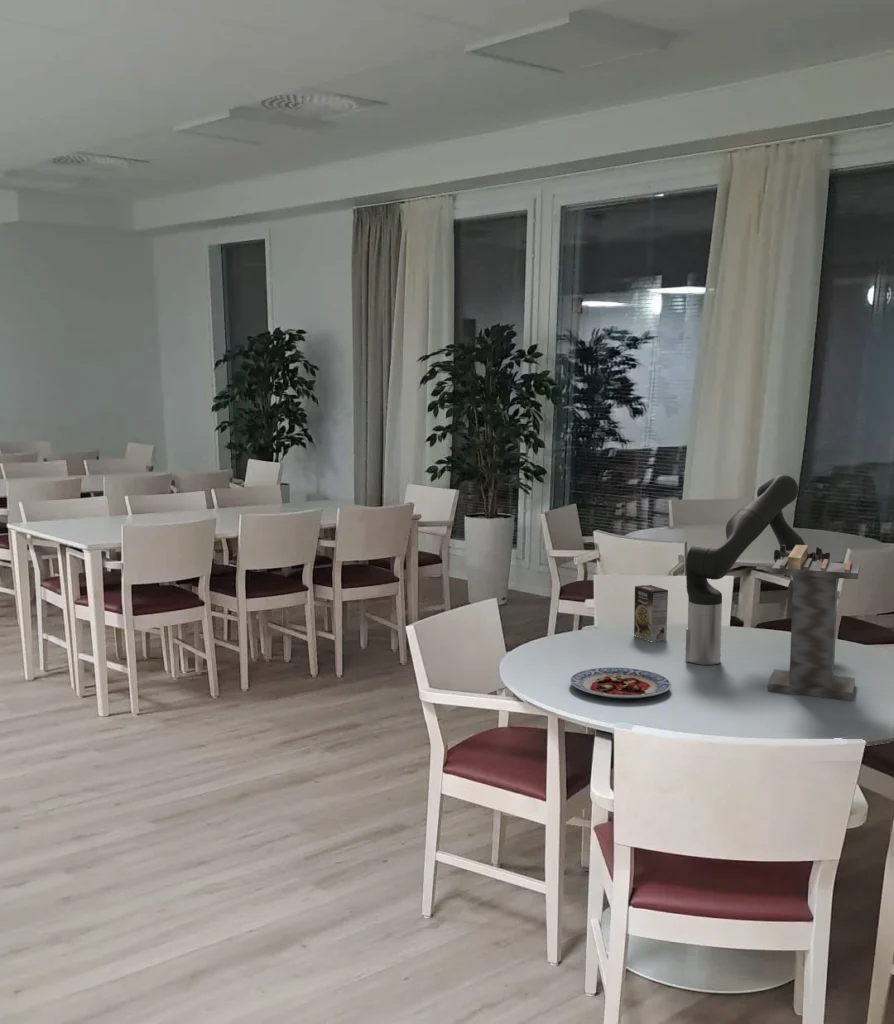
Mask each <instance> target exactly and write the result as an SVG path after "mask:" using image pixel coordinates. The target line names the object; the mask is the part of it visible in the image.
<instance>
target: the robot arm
mask: <svg viewBox="0 0 894 1024" xmlns="http://www.w3.org/2000/svg"><path fill="white" fill-rule="evenodd" d="M798 494H799V485H798V482H797V481H796V479H794V478H793V477H792V476H790V475H788V474H779V475H777V476H774V477H772V478H771V479H769V480H768V481H766V482H765V483H763V484H761V486H759V487H758V489H757V491H756V498H754V499H753V500H751V501H750V502H748V503H747V504H745V505H744V506H743V507H741V508H740V509H739V510H737V512H735V514H734V515H733V516H732V517H730V518H729V520H728V521H727V522H726V525H725V537H726V541H724V543H722V544H721V545H719V546H712V545H706V544H705V545H703V544H695V545H692V546H690V548H689V550H688V552H687V555H686V559H685V561H686V562H685V573H686V574H685V576H686V581H685V582H686V592H687V597H688V606H687V612H688V613H687V627H686V628H685V658H684V659H685V662H689V663H692V664H696V665H703V666H705V665H707V666H710V665H711V666H712V665H717V664H719V663H721V657H722V656H721V652H722V651H721V650H722V649H721V648H722V646H721V645H722V616H723V615H722V614H723V594H722V592H721V591H720V590H719V589H717V588H715V587H714V586H713V585H711V584H710V582H709V581H708V580H716V581H717V580H720V579H723V577H725V576H726V575H727V574H728V573H729V571H730V570H731V569H732V567H733V566H734V564H735V563H736V562H737V560H738V559H739V558H740V556H741V555H742V554H743V553H744V552H745V551H746V549H747V548H748V547H749V546H750V545H751V544H752V543H753V542H754V541H755V540H756V539H757V538H758V537H759V536H760V535H761V534H762V532H763V531H765V529H766V528H767V527H768V526H770V528H771V529H772V531H773V533H774V535H775V538H776V539H777V542H778V545H779V549H774V552H773V560H774V564H775V563H776V561H777V560H778V559H781V560H784V559H785V557H788V556H789V555H790V553H791V552H792V550H793V549H794V547H795V546H796V545H806V543H805V541H804V540H803V538H802V536H800V534H798V532H796V531H795V530H794V529H793V528H792V527H791V526H790V525H789V524H788V523H787V521H786V519H785V517H784V513H783V509H785V508H786V507H787V506H788V505H790V504H792V503H793V502H794V501H795V500H796V499H797V497H798ZM808 558H812V561H814V562H823V561H824V559H829V562H830V560H831V553H830V552H824V553H823V549H822V548H820V546H816V549H815V551H812V552H811V553H808V555H807V558H806V560H805V561H807V559H808ZM789 576H790V581H789V583H788V586H787V593H788V597H789V599H790V600H791V601H792V596H793V575H789Z"/></svg>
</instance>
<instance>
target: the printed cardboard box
mask: <svg viewBox="0 0 894 1024" xmlns="http://www.w3.org/2000/svg"><path fill="white" fill-rule="evenodd" d="M668 597H669V589H665V588H662V587H659V586H655V585H652V584H648V585H643V584H642V585H635V586H634V610H633V611H634V618H633V619H634V622H633V623H634V624H633V627H634V628H633V636H634V635H636V636H638V637H641V638H643V639H642V640H644V639H646V640H649V641H657V642H661V641H660V640H664V641H667V634H668V632H667V630H668V625H667V624H668V607H669V606H668V599H669V598H668ZM636 636H635V637H636ZM638 637H637V638H638ZM641 638H640V639H641ZM646 640H645V641H646ZM649 641H648V642H649Z"/></svg>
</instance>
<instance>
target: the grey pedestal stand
mask: <svg viewBox="0 0 894 1024" xmlns="http://www.w3.org/2000/svg"><path fill="white" fill-rule="evenodd" d="M787 568H788V557H785V559H784V560H781V559H778V560H777V561H776V563H775V562H774V564H773V566H772V567H771V574H772V575H783V576H784V575H785V576H787V575H788V576H790V575H793V596H792V600H791V627H790V628H791V630H790V633H791V634H790V657H789V670H785V669H773V671H772V672H771V676H770V678H769V680H768V682H767V692H774V693H782V694H783V693H784V694H789V695H799V696H807V697H808V696H809V697H816V698H817V697H818V698H825V699H832V700H833V699H835V700H843V701H851V702H852V701H853V699H854V693H855V681H856V678H855V677H849V676H840V675H835V657H836V656H835V655H836V654H835V652H836V633H837V631H836V629H837V609H838V608H837V606H838V584H839V579H845V580H846V579H849V580H859V575H860V569H861V565H860V563H852V560H847V561H846V562H844V563H843V562H829V559H824V561H823V562H814V561H812V558H808V559H807V561H805V562H804V564H803V565H802V567H801V569H800V570H798V569H787Z"/></svg>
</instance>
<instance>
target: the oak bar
mask: <svg viewBox="0 0 894 1024" xmlns="http://www.w3.org/2000/svg"><path fill="white" fill-rule="evenodd" d="M808 554H809V546H808V544H805V545H796V546H795V547H794V549H793V550H792V552H791V553H790V555H789V556H788V568H787V569H798V570H800V569H801V567H802V565H803V564H804V562H805V560H806V558H807V555H808Z"/></svg>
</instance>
